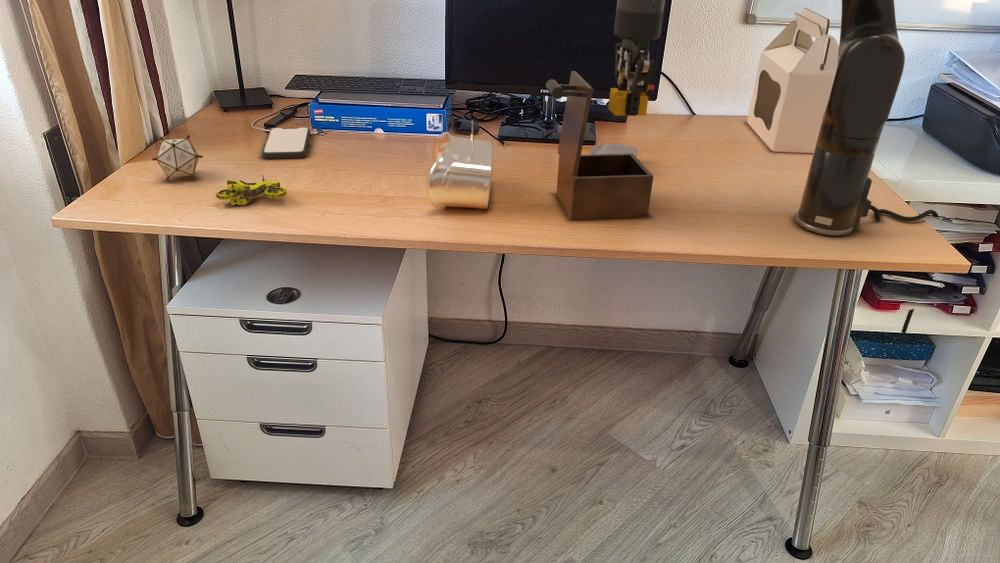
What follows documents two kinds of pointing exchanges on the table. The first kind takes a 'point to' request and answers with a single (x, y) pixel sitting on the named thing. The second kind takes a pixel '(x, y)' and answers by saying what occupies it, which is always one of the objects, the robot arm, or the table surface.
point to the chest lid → (572, 118)
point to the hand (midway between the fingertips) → (627, 110)
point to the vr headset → (460, 172)
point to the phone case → (286, 143)
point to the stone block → (613, 149)
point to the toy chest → (605, 187)
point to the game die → (177, 157)
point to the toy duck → (619, 101)
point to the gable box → (794, 85)
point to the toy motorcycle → (250, 191)
